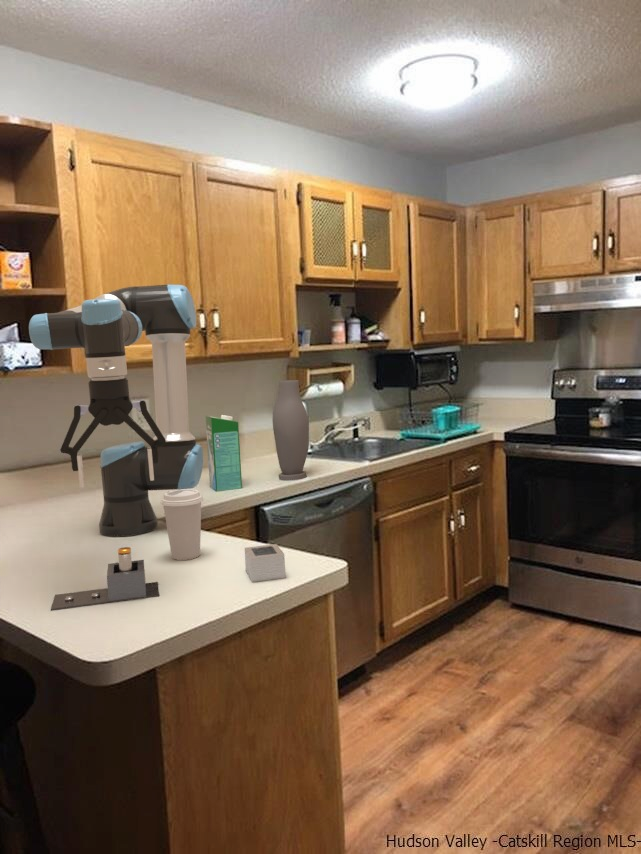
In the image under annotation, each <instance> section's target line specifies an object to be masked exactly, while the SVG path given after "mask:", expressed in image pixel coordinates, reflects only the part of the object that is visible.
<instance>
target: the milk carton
mask: <svg viewBox="0 0 641 854" xmlns="http://www.w3.org/2000/svg"><path fill="white" fill-rule="evenodd" d="M233 417H234V416H230V415H224V414H221V416H220V417H218V416H211V415H205V427H206V441H207V445H206V446H207V459H208V460H207V461H208V472H209V487H210V488H211V489H212V490H214V491H215V492H221V491H229V490H238V489H243V479H242V465H241V462H242V461H241V449H240V432H239V431H240V429H239V422H238V421H237V420H234V419H233Z"/></svg>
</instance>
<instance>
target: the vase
mask: <svg viewBox="0 0 641 854" xmlns="http://www.w3.org/2000/svg"><path fill="white" fill-rule="evenodd" d="M307 413H308V412H307V410H306V408H305V405H304V403H303V401H302V399H301V394H300V381H299V379H289V380H288V379H286V380H279V381H278V391H277V395H276V400H275V402H274V406H273V410H272V428H273V429H272V430H273V436H274V442H275V449H276V455H277V459H278V464H279V468H280V471H281V473H278V480H280V481H298V480H303V479H305V478H307V476H308V475H307V471H306V470H304V467H305V465H306V464H305V463H306V461H307V456H308V453H309V448H310V421H309V417H308V414H307Z"/></svg>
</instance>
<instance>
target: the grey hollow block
mask: <svg viewBox="0 0 641 854" xmlns="http://www.w3.org/2000/svg"><path fill="white" fill-rule="evenodd" d="M131 562H132V571H129V572H121V573H120V570H119V562H114V563H107V571H106V584H107V588H108V598H109V601H114V600H122V599H130V598H137V597H145V596H146V583H147V582H146V571H145V559H137V560H131Z"/></svg>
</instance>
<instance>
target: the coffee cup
mask: <svg viewBox="0 0 641 854" xmlns="http://www.w3.org/2000/svg"><path fill="white" fill-rule="evenodd" d="M203 501H204V498H203V496H202V494H201V493H200V491H199V490H198V489H194V488H191V489H180V490H178V489H175V490H168V491H166V492H165V493H164V494H163V497H162V498H161V501H160V504H161V505H162V507H163V511H164V516H165V517H164V518H165V523H166V529H167V535H168V536H167V537H168V542H169V548H170V554H171V559H173V560H175V559H177V561H188V560H187V559H189V560H193V558H194V559H197V558H198V556H199V557H200V556H201V531H202V530H201V529H202V528H201V527H202V526H201V524H202V519H201V518H202V502H203ZM196 557H197V558H196Z"/></svg>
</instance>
